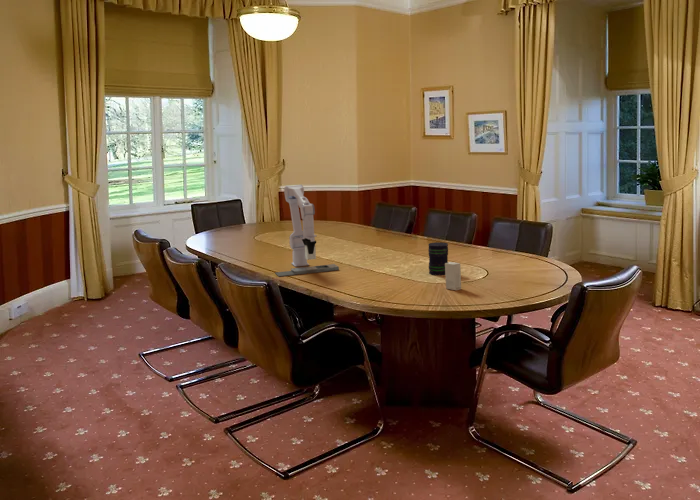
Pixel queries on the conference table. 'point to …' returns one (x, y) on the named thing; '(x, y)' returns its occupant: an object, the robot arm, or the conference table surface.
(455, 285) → the skincare box
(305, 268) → the rail
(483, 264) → the conference table surface
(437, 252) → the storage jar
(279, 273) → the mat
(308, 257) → the pale grey square block
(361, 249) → the conference table surface
